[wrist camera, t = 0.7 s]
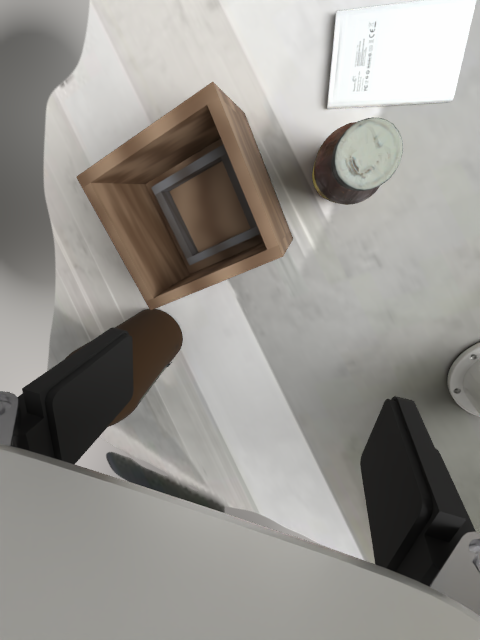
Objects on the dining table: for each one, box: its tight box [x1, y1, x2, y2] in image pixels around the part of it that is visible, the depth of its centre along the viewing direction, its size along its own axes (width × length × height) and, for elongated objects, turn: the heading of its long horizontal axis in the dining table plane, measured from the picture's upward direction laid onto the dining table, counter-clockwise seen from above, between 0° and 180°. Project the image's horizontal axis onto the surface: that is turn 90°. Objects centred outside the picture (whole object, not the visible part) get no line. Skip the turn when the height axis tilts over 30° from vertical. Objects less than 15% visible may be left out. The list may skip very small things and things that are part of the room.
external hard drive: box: [327, 0, 476, 109], centre depth 31 cm, size 2×8×12 cm
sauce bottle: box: [312, 118, 403, 205], centre depth 28 cm, size 6×6×20 cm
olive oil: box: [66, 309, 183, 426], centre depth 41 cm, size 11×11×25 cm
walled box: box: [77, 82, 293, 310], centre depth 36 cm, size 17×16×12 cm
